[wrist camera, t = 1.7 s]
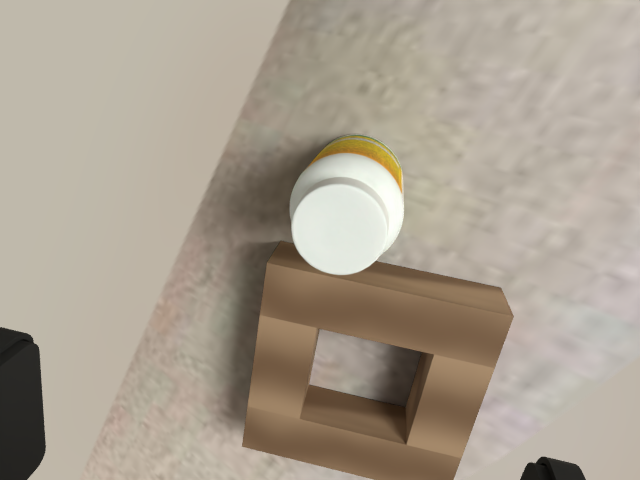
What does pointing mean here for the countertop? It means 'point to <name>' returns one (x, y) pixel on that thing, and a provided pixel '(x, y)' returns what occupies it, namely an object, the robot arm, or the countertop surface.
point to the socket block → (382, 326)
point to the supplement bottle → (347, 205)
